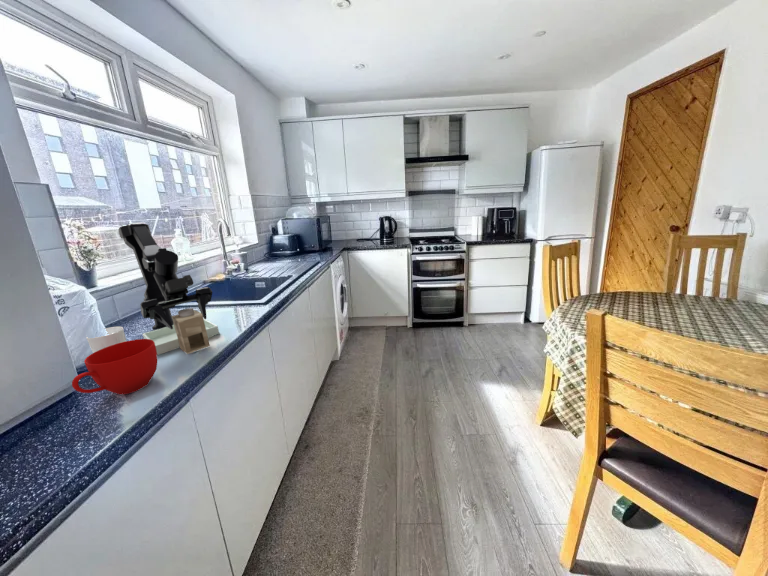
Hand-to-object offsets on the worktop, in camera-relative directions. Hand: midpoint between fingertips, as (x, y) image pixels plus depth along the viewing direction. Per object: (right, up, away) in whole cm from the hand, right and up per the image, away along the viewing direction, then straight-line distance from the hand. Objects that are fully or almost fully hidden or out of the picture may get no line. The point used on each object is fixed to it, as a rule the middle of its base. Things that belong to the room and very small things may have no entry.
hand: (189, 323), depth 92 cm
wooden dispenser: (0, -8, +3) cm, 8 cm away
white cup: (-19, -11, -4) cm, 22 cm away
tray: (-9, -6, +11) cm, 15 cm away
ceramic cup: (-3, -15, -19) cm, 24 cm away
